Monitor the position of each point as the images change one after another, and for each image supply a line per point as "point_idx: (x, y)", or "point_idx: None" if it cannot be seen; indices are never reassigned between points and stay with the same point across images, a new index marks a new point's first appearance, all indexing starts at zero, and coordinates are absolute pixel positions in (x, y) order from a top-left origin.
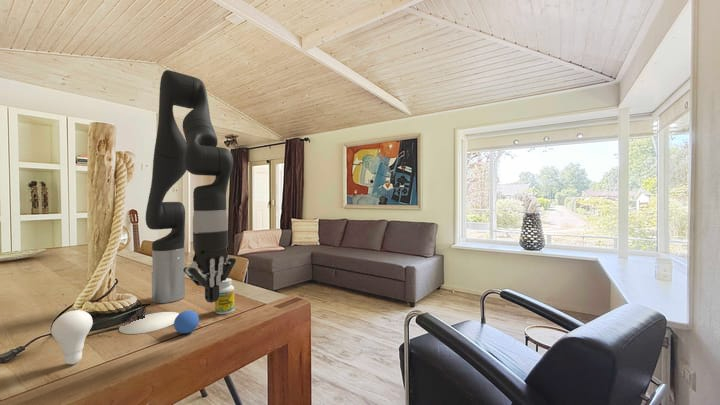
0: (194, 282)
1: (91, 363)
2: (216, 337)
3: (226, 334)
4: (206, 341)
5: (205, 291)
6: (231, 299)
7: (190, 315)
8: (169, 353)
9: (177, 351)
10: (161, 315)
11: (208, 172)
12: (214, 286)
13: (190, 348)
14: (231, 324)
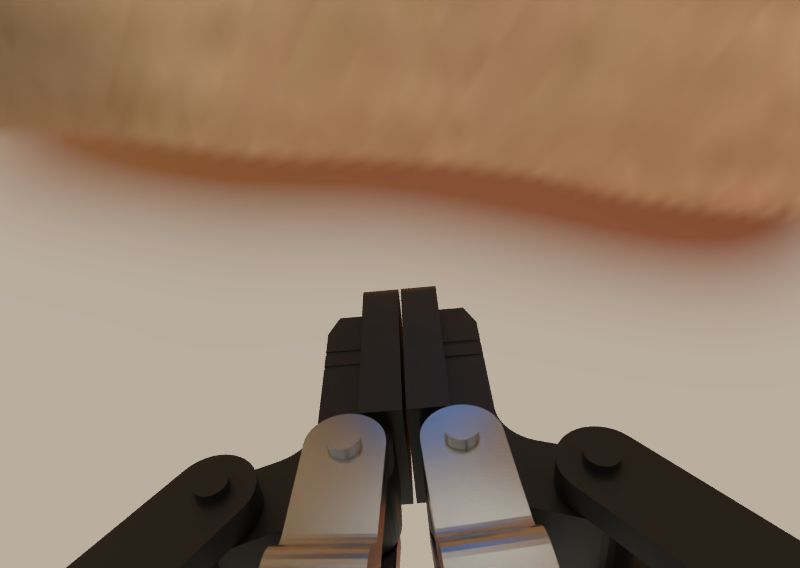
0: (127, 529)
1: None
2: (436, 135)
3: (501, 155)
4: (362, 128)
5: (324, 402)
6: None
7: None
8: (122, 68)
9: (170, 90)
10: None
11: None
12: (410, 497)
13: (246, 127)
14: (657, 26)
